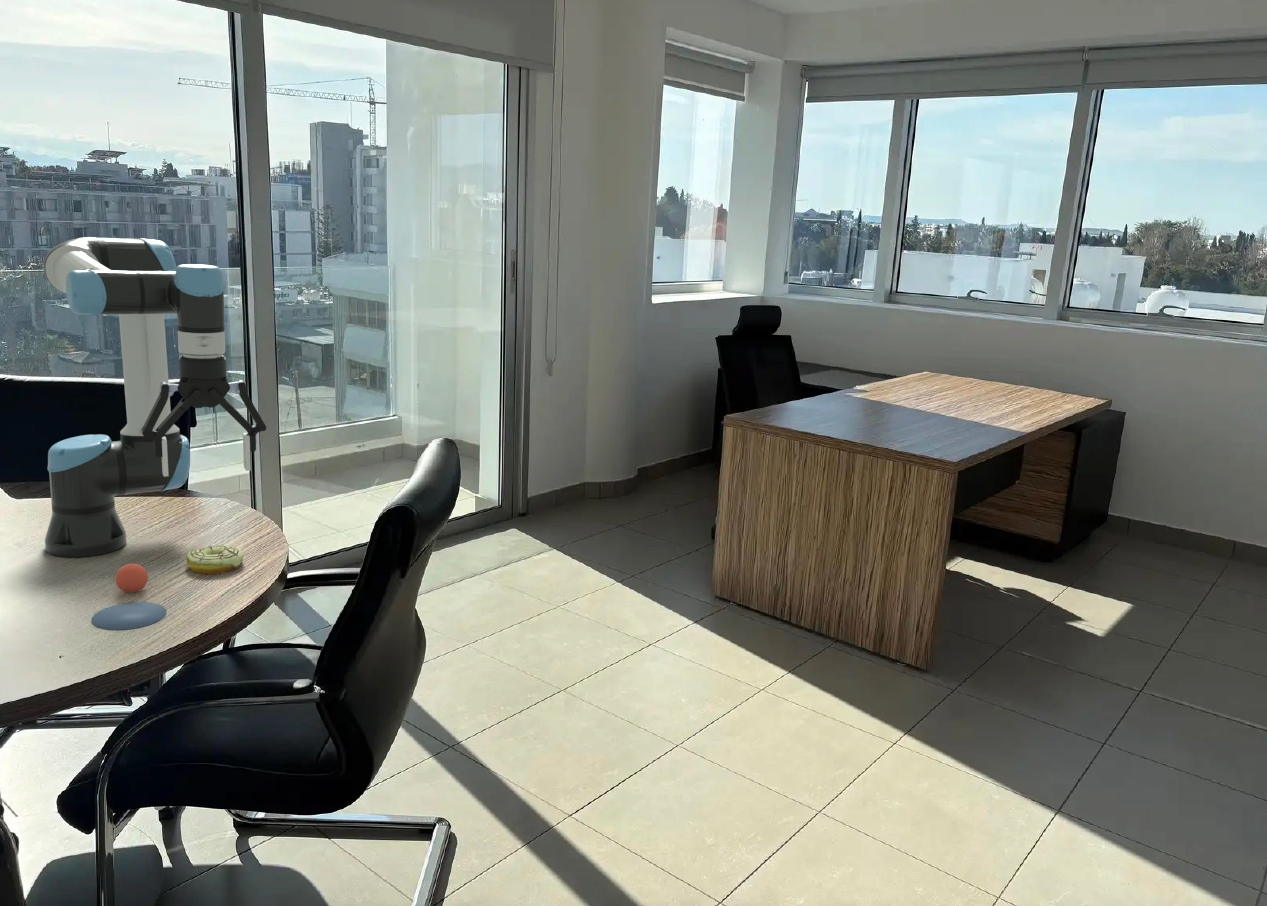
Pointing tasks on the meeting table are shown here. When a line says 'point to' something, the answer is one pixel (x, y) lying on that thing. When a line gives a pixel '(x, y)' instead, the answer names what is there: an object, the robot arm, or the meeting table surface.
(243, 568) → the meeting table surface
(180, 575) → the meeting table surface
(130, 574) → the ball
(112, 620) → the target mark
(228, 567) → the decorated donut
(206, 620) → the meeting table surface
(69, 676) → the meeting table surface
